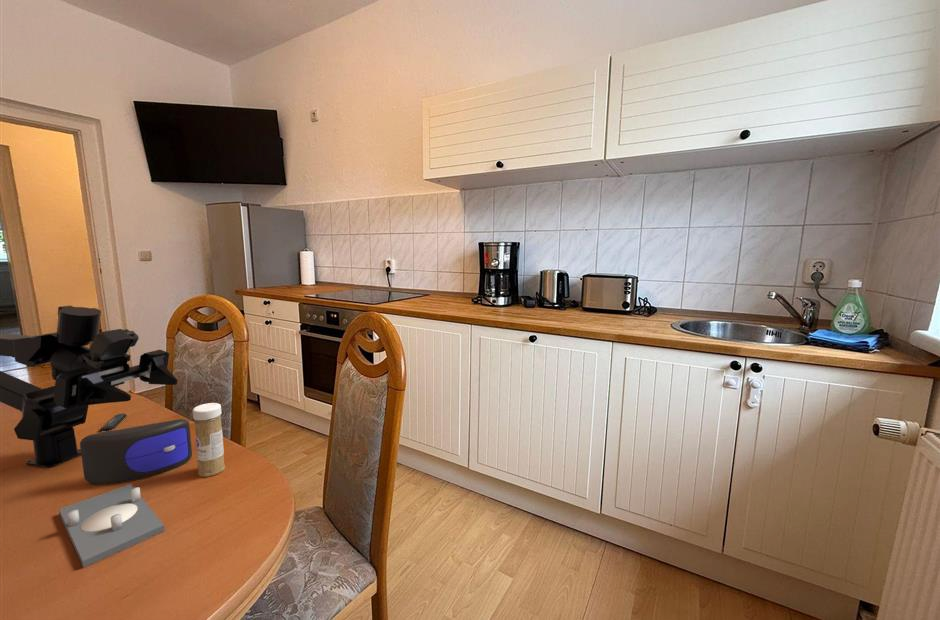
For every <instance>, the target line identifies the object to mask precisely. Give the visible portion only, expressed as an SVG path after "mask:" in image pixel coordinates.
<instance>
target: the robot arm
mask: <svg viewBox="0 0 940 620" xmlns="http://www.w3.org/2000/svg"><path fill="white" fill-rule="evenodd" d="M101 316H102V311H101V310H100V309H98V308H95V307H92V308H91V307H83V306H73V305H63V306H58V308H57V326H56V332H51V333H43V334H37V335H26V334H25V335H23V334H16V333H15V334H14V333H4V332H3V333H2V332H0V356H1V357H11V358H14V362H15V363H18V364H20V365H21V364H22V365H25V366H27V367H37V366H40V365H41V366H42V365H47V364H50V367H51V368H50V369H51V377H52V379H53V380H54V381H55V382H54V385H52V386H48V387H44V388H41V387H38V386H37V385H34V384H32V383H30V382H27V381H25V380H23V379H21V378H18V377H15V376H13V375H12V374H9V373H6V372H4V371H2V370H0V403H2V404H5V405H7V406H9V407H11V408H13V409H15V410H18V411H20V412H21V419H20V420H19V422H18V423H17V424H16V426H15V427H14V429H13V431H14V433H15V434H16V437H17V439H19V440H27V441H32V444H33V453H34V458H33V459H29V460H27V461H25V465H27V466H34V467H39V468H45V469H49V468H53V467H56V466H57V465H61V464H63V463H65V462H67V461H70V460H71V459H74V458H77V457H80V456H81V449H79V448H78V446H77V445H78V444H77V438H76V434H75V428H74V427H77V426H80V425H83V424H86V420H87V416H88V411H89V406H92V405H102V404H112V403H122V402H130V401H131V400H132V395H131V394H130V393H128V392H126V391H125V390H123V389H121V388H119V387H117V386H120V385H124V384H125V382H128V381H132V380H134V379H138V378H139V380H140V382H141V381H142V382H144V383H148V385H161V386H163V385H164V386H165V385H166V386H175V385H178V378H176V376H175V375H174V374H173V373H172V372H171V371H170V370H169V369H168V364H169V356H170V353H169V352H167V351H165V350H162V349H157V350H151V351H148V352H144V353H143V354H141V355H140V357H139V364H137V365H133V366H130V363H128V362H130V361H131V355H130V354H128V351H129V349H130V348H132V347H135V346H136V345H137V342H138V341H139V334H137V333H135V331H134V330H129V329H127V328H125V329H122V328H117V329H112V330H111V329H109V330H105V331H101V332H100V325H101ZM90 344H91V345H90ZM88 345H89V346H90V347H88Z"/></svg>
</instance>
